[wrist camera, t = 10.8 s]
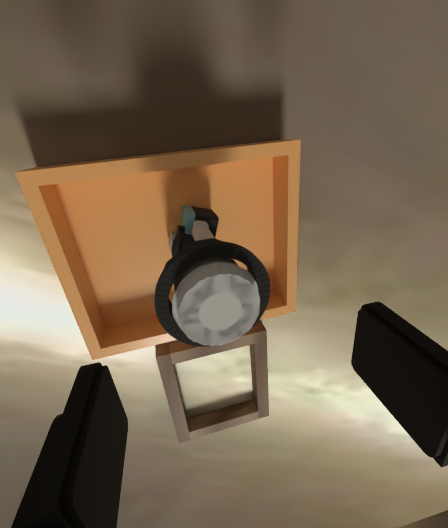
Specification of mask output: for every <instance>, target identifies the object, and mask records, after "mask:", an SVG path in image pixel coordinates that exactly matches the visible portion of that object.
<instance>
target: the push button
mask: <svg viewBox="0 0 448 528" xmlns="http://www.w3.org/2000/svg"><path fill="white" fill-rule="evenodd" d="M181 213H182V215H181V222H180V225H178V226H177V232H176V235H174V234H173V232H172V229H170V235H169V248H170V250H171V253H172V258H171V259H170V260H169V261H167V262H166V264H165V266H164V269H163V271H162V273H161V275H160V277H159V279H158V282H157V284H156V288H155V295H154V301H155V311H156V315H157V318H158V320H159V322H160V324H161V326H162V327H163V328H164V329H165V331H166V332H167V333H168V334H169V335H171V336H172V337H173V338H175V339H177V340H178V341H181V342H183V343H185V344H189V345H193V346H200V347H210V346H217V345H223V344H226V343H230V342H233V341H235V340H237V339H239V338H240V337H241V336H242V335H244V334H245V333H247V332H248V331H249V330H250V329H251V328H252V327H254V326H255V324H256V323H257V322H258V321H259V320H260V318H261V317H262V315H263V314H264V312H265V310H266V308H267V305H268V302H269V298H270V289H271V286H270V279H269V275H268V273H267V270H266V268H265V266H264V265H263V264H262V262H261V261H260V260H259V259H258V258H257V257H256V256H255V255H254V254H253V253H252V252H251V251H249V250H248V249H246V248H244V247H242V246H240V245H238V244H234V243H230V242H224V241H221V240H218V239H216V238H215V237H216V232H217V227H218V222H219V217H218V216H217V215H216V214H215V213H214V211H213V210H212V209H206V208H200V207H194V206H187V205H183V206H182V212H181ZM234 259H235V260H238V261H240V262H242V263H243V264H245V265H246V267H247V270H248V271H247V270H245V269H243V268H241V267H239V266H238V264H237V263H236V262H235V261H234ZM173 284H174V290H175V294H174V296H173V299H172V303H171V301H170V299H169V294H170V290H171V288H172V286H173Z"/></svg>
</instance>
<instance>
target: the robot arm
mask: <svg viewBox="0 0 448 528" xmlns="http://www.w3.org/2000/svg"><path fill="white" fill-rule="evenodd" d="M351 363H352V366H353V369H354V370H355V372H356V373H357V374H358V375H359V376H360V377H361V379H362V380H363V381H364V382H365V383H366V385H367V386H368V387H369V388H370V389H371V390H372V392H373V393H374V394H375V395H376V396H377V397H378V399H379V400H380V401H381V402H382V403H383V405H384V406H385V407H386V408H387V409H388V410H389V412H390V413H391V414H392V415H393V416H394V417H395V419H396V420H397V421H398V422H399V423H400V425H401V426H402V427H403V428H404V429H405V430H406V432H407V433H408V434H409V435H410V436H411V438H412V439H413V440H414V441H415V442H416V443H417V445H418V446H419V447H420V448H421V449H422V450H423V452H424V453H425V454H426V455H428V456H429V457H431V458H432V457H433V458H434V459H435V461H436V462H437V463H438V464H439V465H440V466H441V467H444V466H447V465H448V351H447V350H446V349H444V348H443V347H441V346H440V345H439V344H437V343H436V342H435V341H433V340H432V339H430V338H429V337H428V336H426V335H425V334H424V333H422V332H421V331H419V330H418V329H417V328H415V327H414V326H413V325H411V324H410V323H408V322H407V321H406V320H404V319H403V318H402V317H400V316H399V315H397V314H396V313H395V312H393V311H392V310H391V309H389V308H388V307H386V306H385V305H384V304H382V303H380V302H374V303H369V304H365V305H363V306H362V307H361V309H360V310H359V312H358V317H357V324H356V332H355V339H354V346H353V353H352V360H351ZM127 432H128V420H127V416H126V414H125V411H124V408H123V406H122V403H121V400H120V398H119V395H118V392H117V390H116V387H115V384H114V382H113V379H112V377H111V374H110V371H109V369H108V366H102V364H101V363H94V364H89V365H85V366H81V367H80V369H79V371H78V373H77V376H76V379H75V382H74V384H73V387H72V390H71V393H70V395H69V398H68V401H67V404H66V406H65V409H64V412H63V414H60V415H58V416H57V417H56V418H55V419H54V420H53V422H52V424H51V427H50V430H49V432H48V435H47V437H46V440H45V442H44V445H43V447H42V450H41V453H40V455H39V458H38V460H37V463H36V465H35V468H34V470H33V473H32V476H31V478H30V481H29V483H28V486H27V488H26V491H25V494H24V496H23V499H22V501H21V504H20V506H19V509H18V511H17V514H16V517H15V519H14V522H13V524H12V527H11V528H116V526H117V518H118V509H119V501H120V492H121V484H122V475H123V466H124V458H125V449H126V441H127ZM400 528H448V510H447V511H444V512H442V513H439V514H436V515H433V516H430V517H428V518H425V519H422V520H419V521H416V522H414V523H411V524H408V525H405V526H402V527H400Z"/></svg>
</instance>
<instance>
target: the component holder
mask: <svg viewBox="0 0 448 528" xmlns="http://www.w3.org/2000/svg"><path fill="white" fill-rule="evenodd" d="M247 345H250V355H251V370H252V385H253V400H250V401H247V402H243V403H240V404H237V405H233V406H230V407H226V408H223V409H220V410H216V411H213V412H209V413H206V414H203V415H199V416H196V417H192V418H189V419H187V416H186V412H185V408H184V403H183V399H182V395H181V391H180V386H179V382H178V378H177V374H176V370H175V365H174V364H176V363H180V362H184V361H188V360H191V359H195V358H199V357H203V356H207V355H211V354H215V353H219V352H223V351H227V350H231V349H235V348H239V347H243V346H247ZM156 360H157V363H158V367H159V371H160V374H161V378H162V382H163V385H164V389H165V393H166V396H167V400H168V404H169V407H170V411H171V415H172V418H173V422H174V426H175V429H176V433H177V437H178V440H179V443H181V442H185V441H188V440H191V439H194V438H198V437H201V436H204V435H207V434H210V433H214V432H217V431H220V430H223V429H227V428H230V427H233V426H236V425H240V424H243V423H246V422H249V421H253V420H256V419H259V418H262V417H266V416H269V401H268V368H267V336H266V329H265V327H264V326H263V324H262V322H261V321H258V322H257V323H256V324H255V326H254V327H252V328H251V329H250V330H249V331H248V332H247V333H245V334H244V335H242V336H241V337H240V338H239V339H237V340H235V341H233V342H230V343H226V344H223V345H217V346H210V347H200V346H193V345H189V344H185V343H183V342H181V341H178V340H176V341H172V342H168V343H164V344H160V345H156Z"/></svg>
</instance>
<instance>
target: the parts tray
mask: <svg viewBox="0 0 448 528" xmlns="http://www.w3.org/2000/svg"><path fill="white" fill-rule="evenodd" d="M300 143H301V140H273V141H264V142H255V143H246V144H237V145H228V146H219V147H211V148H202V149H193V150H184V151H175V152H166V153H157V154H149V155H140V156H131V157H122V158H113V159H104V160H95V161H86V162H78V163H69V164H60V165H51V166H42V167H35V168H31V169H27V170H22V171H18V172H15V174H16V176H17V179H18V181H19V183H20V186H21V188H22V191H23V193H24V196H25V198H26V200H27V203H28V205H29V208H30V210H31V212H32V215H33V217H34V220H35V222H36V225H37V227H38V229H39V232H40V234H41V237H42V239H43V242H44V244H45V246H46V249H47V251H48V254H49V256H50V258H51V261H52V263H53V266H54V268H55V271H56V273H57V275H58V278H59V280H60V283H61V285H62V287H63V290H64V292H65V295H66V297H67V300H68V302H69V304H70V307H71V309H72V312H73V314H74V317H75V319H76V321H77V324H78V326H79V329H80V331H81V333H82V336H83V338H84V341H85V343H86V346H87V348H88V350H89V353H90V355H91V358H92V360H94V359H99V358H103V357H107V356H111V355H115V354H120V353H124V352H128V351H132V350H136V349H141V348H145V347H149V346H153V345H157V344H161V343H166V342H170V341H174V340H177V339H175V338H173V337H172V336H171V335H169V334H168V333H167V332H166V331H165V329H164V328H163V327H162V326H161V324H160V322H159V320H158V318H157V315H156V311H155V301H154V295H155V288H156V284H157V282H158V279H159V277H160V275H161V273H162V271H163V269H164V266H165V264H166V262H167V261H169V260H170V259H171V258H172V253H171V250H170V248H169V235H170V229H172V232H173V234H174V235H176V232H177V226H178V225H180V222H181V215H182V213H181V212H182V206H183V205H187V206H194V207H200V208H206V209H212V210H213V211H214V213H215V214H216V215H217V216H218V217H219V222H218V227H217V232H216V237H215V238H216V239H218V240H221V241H224V242H230V243H234V244H238V245H240V246H242V247H244V248H246V249H248V250H249V251H251V252H252V253H253V254H254V255H255V256H256V257H257V258H258V259H259V260H260V261H261V262H262V264H263V265H264V266H265V268H266V270H267V273H268V275H269V279H270V286H271V289H270V298H269V302H268V305H267V308H266V310H265V312H264V314H263V315H262V317H261V318H260V320H262V319H266V318H270V317H275V316H279V315H283V314H287V313H291V312H295V311H296V282H297V248H298V213H299V178H300ZM234 261H235V262H236V263H237V264H238V266H239V267H241V268H243V269H245V270H247V267H246V265H245V264H243V263H242V262H240V261H238V260H235V259H234ZM247 271H248V270H247ZM174 294H175V290H174V284H173V286H172V288H171V290H170V294H169V299H170V301H171V303H172V299H173V296H174Z"/></svg>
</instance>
